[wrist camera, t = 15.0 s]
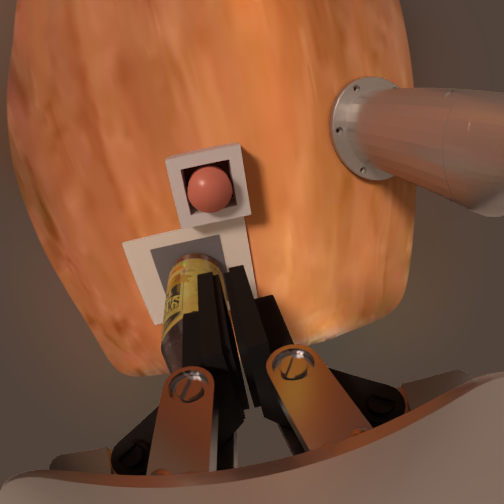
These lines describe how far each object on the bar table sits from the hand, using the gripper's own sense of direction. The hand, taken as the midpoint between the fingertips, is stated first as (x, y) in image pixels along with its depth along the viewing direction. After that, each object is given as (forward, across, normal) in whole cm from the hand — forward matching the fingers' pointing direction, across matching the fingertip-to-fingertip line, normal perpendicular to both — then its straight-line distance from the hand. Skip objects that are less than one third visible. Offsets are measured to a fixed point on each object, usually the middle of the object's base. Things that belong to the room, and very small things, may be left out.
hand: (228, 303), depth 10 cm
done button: (+19, 0, 0) cm, 19 cm away
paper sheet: (+21, +4, +10) cm, 24 cm away
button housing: (+21, 0, 0) cm, 21 cm away
